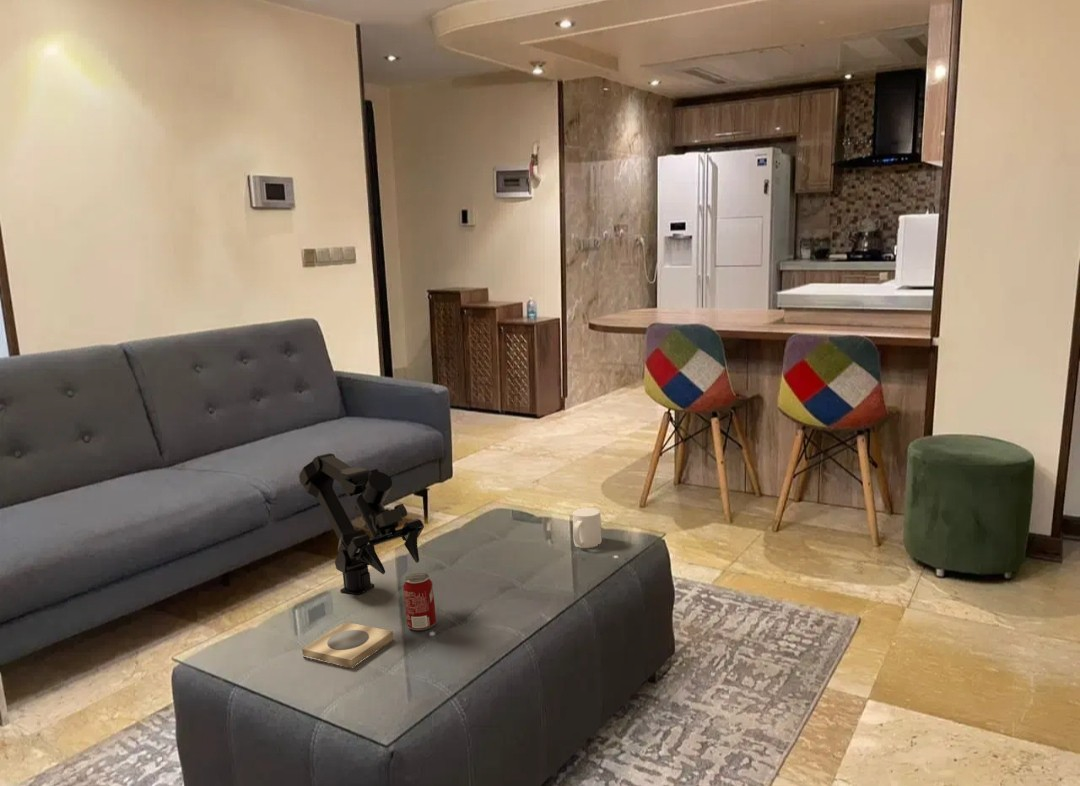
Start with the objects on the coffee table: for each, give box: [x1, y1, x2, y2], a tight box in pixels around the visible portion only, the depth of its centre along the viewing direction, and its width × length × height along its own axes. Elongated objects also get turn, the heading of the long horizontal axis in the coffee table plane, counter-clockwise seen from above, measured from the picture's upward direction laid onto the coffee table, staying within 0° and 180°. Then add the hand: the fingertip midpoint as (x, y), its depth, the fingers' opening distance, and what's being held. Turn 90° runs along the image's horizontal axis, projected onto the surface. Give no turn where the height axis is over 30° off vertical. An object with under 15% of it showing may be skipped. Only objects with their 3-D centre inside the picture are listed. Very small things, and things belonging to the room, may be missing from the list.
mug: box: [572, 507, 603, 549], centre depth 233 cm, size 12×9×8 cm
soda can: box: [402, 572, 437, 632], centre depth 187 cm, size 7×7×12 cm
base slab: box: [301, 621, 395, 669], centre depth 179 cm, size 14×14×2 cm
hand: (401, 567), depth 191 cm, fingers open, 9 cm apart
